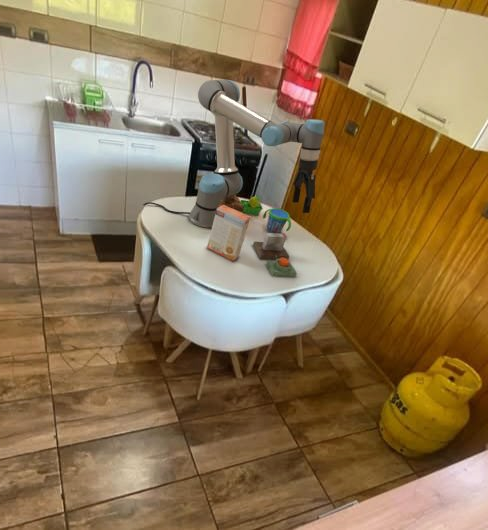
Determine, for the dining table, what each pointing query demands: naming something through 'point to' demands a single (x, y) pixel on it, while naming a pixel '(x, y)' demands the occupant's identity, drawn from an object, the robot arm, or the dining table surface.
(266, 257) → the brown flat block
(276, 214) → the snack cup
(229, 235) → the cracker box
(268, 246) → the tap lever
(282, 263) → the button
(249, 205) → the fruit basket
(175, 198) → the dining table surface
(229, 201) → the bread
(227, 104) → the robot arm
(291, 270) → the button housing
